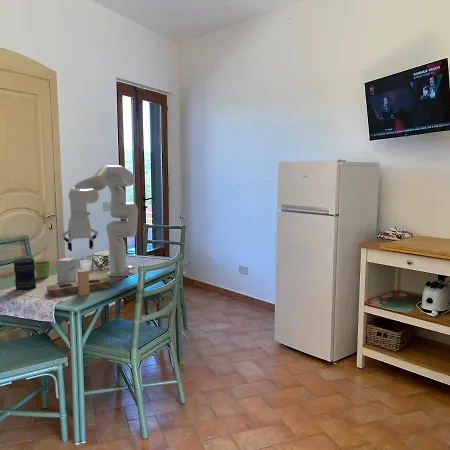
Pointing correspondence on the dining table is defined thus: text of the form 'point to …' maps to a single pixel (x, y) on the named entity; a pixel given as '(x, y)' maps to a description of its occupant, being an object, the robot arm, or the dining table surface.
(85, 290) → the peg
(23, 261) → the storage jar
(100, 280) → the rail
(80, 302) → the dining table surface
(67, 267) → the supplement box
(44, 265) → the plant pot
